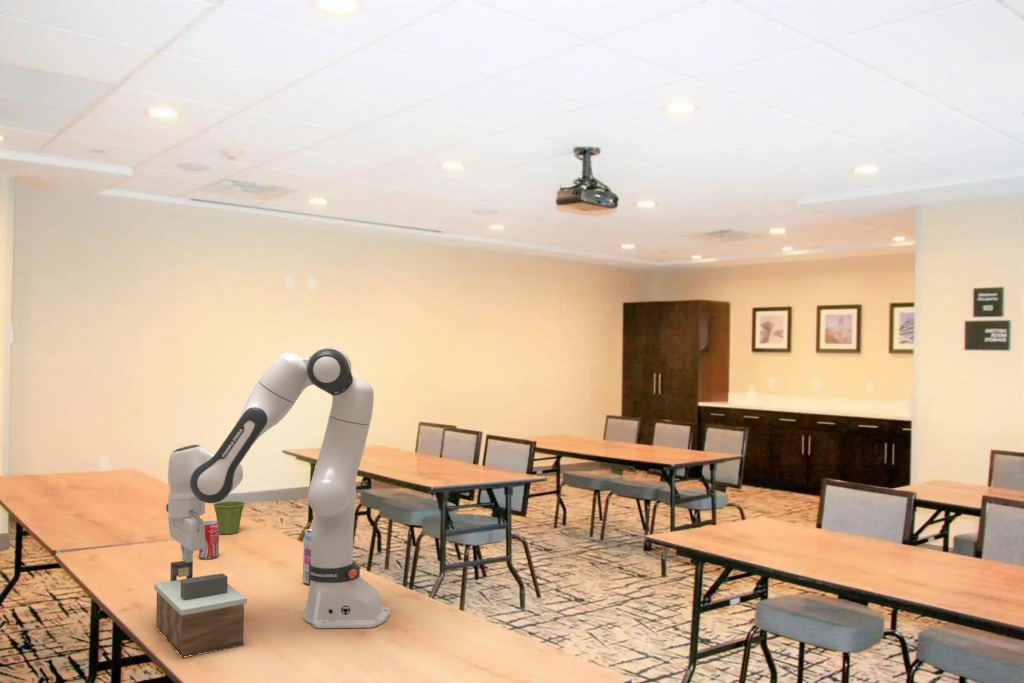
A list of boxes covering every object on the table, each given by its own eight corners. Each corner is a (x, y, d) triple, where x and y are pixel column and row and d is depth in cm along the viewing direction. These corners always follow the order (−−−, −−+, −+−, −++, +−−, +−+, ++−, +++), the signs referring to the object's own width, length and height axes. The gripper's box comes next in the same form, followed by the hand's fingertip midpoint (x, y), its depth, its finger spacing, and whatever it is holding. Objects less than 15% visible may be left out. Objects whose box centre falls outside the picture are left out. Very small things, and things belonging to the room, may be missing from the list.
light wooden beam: (188, 575, 204) (188, 568, 204) (178, 577, 203) (179, 569, 203) (180, 568, 211) (180, 561, 211) (170, 570, 209) (171, 562, 209)
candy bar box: (312, 587, 233) (312, 532, 234) (302, 583, 237) (302, 529, 237) (342, 579, 242) (342, 526, 242) (332, 576, 245) (332, 523, 245)
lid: (246, 607, 187) (247, 581, 187) (181, 619, 178) (181, 592, 178) (214, 582, 207) (215, 558, 207) (154, 592, 198) (154, 568, 198)
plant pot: (251, 531, 303) (251, 503, 304) (225, 537, 293) (226, 508, 293) (231, 527, 310) (231, 499, 310) (205, 533, 300) (206, 504, 300)
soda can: (211, 560, 262) (212, 524, 262) (195, 559, 263) (195, 523, 263) (222, 555, 268) (223, 520, 268) (206, 554, 269) (206, 519, 269)
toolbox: (243, 644, 187) (244, 583, 187) (182, 658, 179) (183, 593, 179) (207, 612, 210) (208, 557, 210) (151, 622, 202) (152, 565, 202)
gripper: (211, 512, 196) (212, 567, 196) (188, 500, 213) (189, 551, 212) (185, 516, 193) (185, 572, 192) (164, 504, 209) (164, 555, 209)
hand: (187, 561), depth 203 cm, fingers closed
